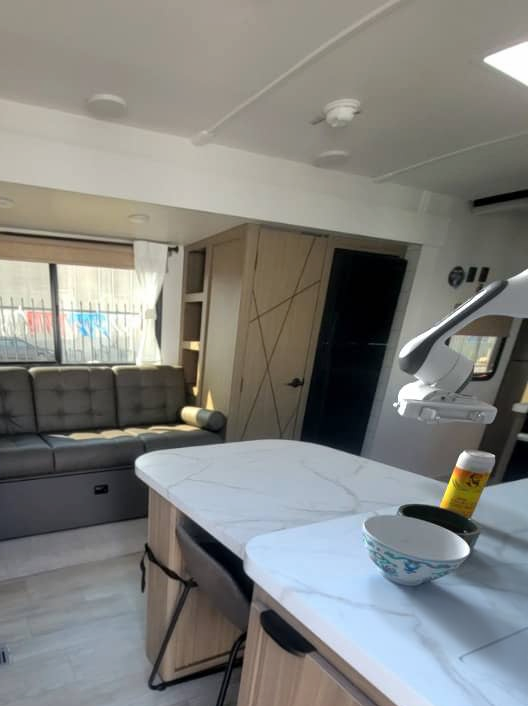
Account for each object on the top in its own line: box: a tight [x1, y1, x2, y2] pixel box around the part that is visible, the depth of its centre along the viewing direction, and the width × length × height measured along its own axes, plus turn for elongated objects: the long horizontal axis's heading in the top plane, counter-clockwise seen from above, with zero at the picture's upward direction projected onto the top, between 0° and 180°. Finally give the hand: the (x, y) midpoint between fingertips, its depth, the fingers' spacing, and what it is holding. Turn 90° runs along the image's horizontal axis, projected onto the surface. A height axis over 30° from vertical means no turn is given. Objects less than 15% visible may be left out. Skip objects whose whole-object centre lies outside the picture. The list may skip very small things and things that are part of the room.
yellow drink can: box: [439, 449, 496, 519], centre depth 88 cm, size 6×6×15 cm
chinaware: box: [362, 514, 470, 587], centre depth 68 cm, size 15×15×8 cm
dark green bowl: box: [395, 503, 483, 560], centre depth 79 cm, size 13×13×6 cm
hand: (460, 417), depth 93 cm, fingers open, 8 cm apart
